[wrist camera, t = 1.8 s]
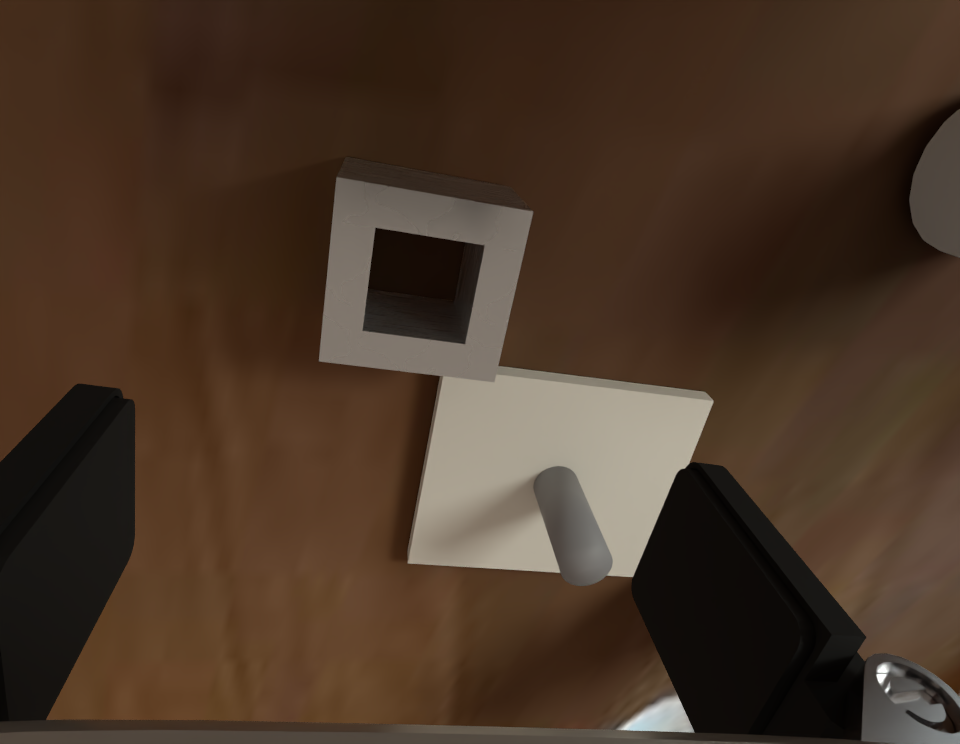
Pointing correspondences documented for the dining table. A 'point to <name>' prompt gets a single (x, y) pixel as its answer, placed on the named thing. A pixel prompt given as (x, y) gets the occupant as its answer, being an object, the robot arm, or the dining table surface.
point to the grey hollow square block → (409, 318)
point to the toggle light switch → (550, 472)
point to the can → (939, 189)
